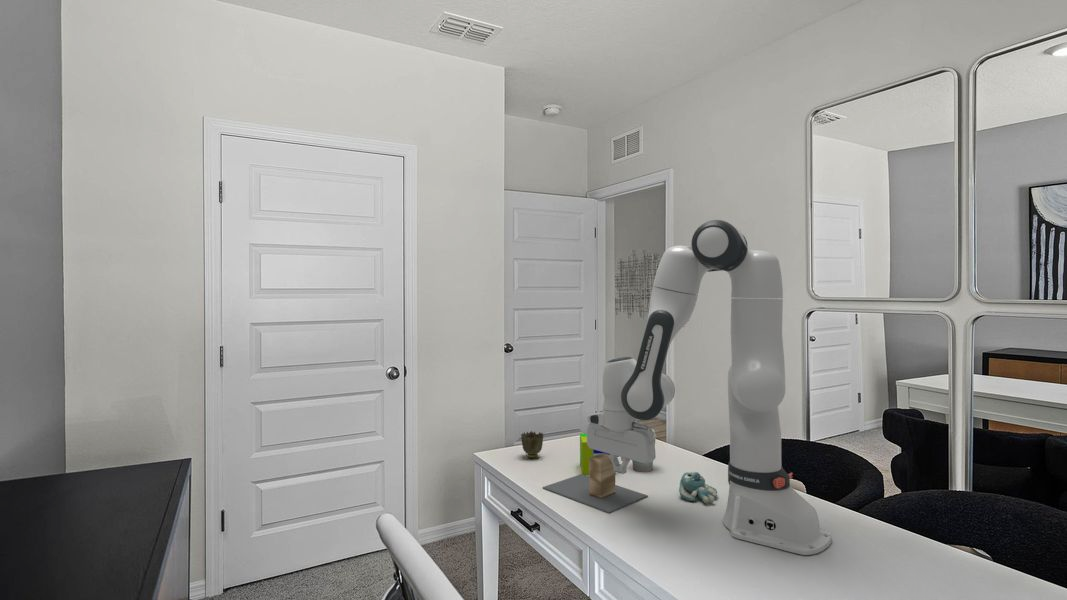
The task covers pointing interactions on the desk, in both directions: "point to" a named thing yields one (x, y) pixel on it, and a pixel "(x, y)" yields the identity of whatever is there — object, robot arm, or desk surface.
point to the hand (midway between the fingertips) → (619, 472)
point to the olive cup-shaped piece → (532, 444)
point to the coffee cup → (642, 466)
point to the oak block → (601, 476)
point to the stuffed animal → (696, 488)
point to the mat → (579, 492)
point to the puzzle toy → (586, 454)
